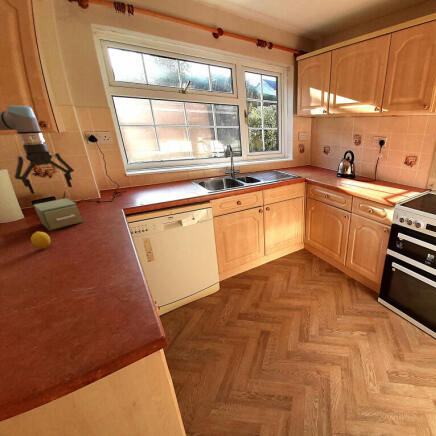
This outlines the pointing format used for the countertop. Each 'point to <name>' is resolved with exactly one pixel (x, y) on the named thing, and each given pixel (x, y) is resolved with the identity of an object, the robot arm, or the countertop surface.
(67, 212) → the drawer
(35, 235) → the lemon
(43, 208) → the cabinet
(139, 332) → the countertop surface
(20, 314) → the countertop surface
